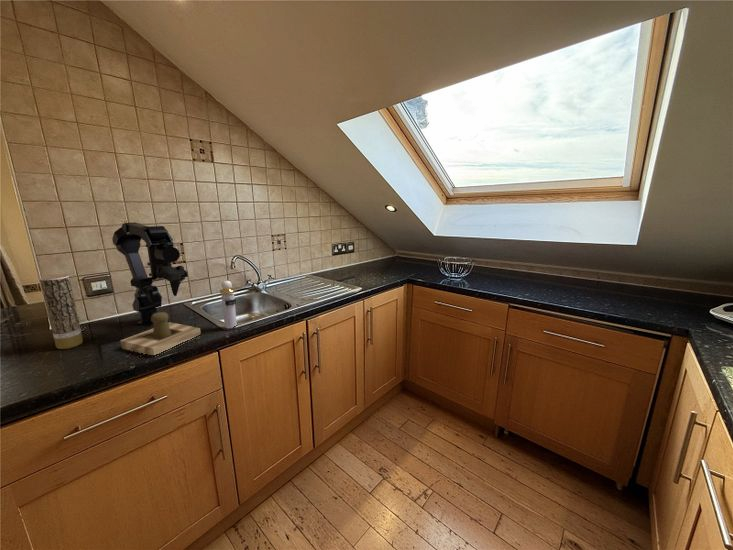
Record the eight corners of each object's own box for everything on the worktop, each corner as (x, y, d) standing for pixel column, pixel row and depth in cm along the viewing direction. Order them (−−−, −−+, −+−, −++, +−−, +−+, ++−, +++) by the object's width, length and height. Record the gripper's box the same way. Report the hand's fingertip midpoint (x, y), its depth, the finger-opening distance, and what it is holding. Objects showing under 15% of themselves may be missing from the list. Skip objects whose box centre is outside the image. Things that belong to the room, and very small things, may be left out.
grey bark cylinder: (88, 341, 108) (74, 274, 102) (71, 350, 101) (55, 278, 95) (69, 341, 107) (54, 274, 102) (50, 350, 101) (33, 278, 95)
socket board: (121, 348, 102) (120, 340, 102) (170, 329, 119) (169, 322, 118) (154, 356, 97) (152, 348, 97) (200, 335, 114) (200, 328, 113)
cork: (177, 339, 110) (173, 311, 108) (162, 346, 105) (158, 317, 102) (164, 337, 112) (160, 309, 109) (149, 344, 106) (144, 315, 104)
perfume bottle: (220, 327, 121) (215, 280, 117) (234, 324, 125) (230, 278, 121) (227, 331, 117) (222, 283, 113) (241, 327, 122) (237, 280, 117)
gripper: (148, 265, 100) (154, 309, 104) (195, 257, 118) (200, 295, 121) (126, 263, 104) (133, 305, 108) (175, 255, 121) (180, 292, 125)
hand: (164, 299), depth 115 cm, fingers open, 9 cm apart
